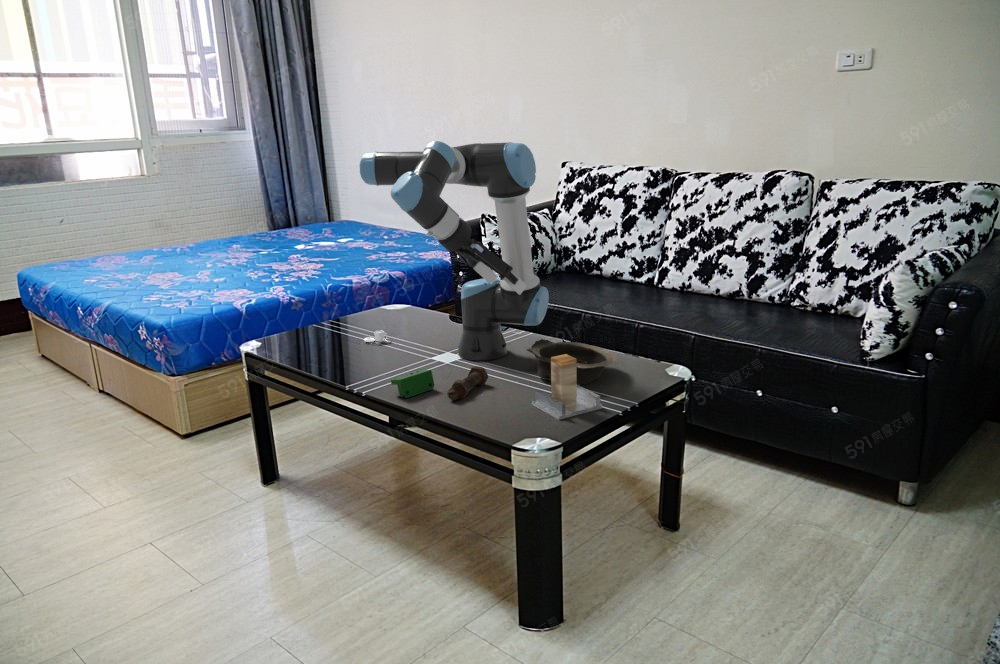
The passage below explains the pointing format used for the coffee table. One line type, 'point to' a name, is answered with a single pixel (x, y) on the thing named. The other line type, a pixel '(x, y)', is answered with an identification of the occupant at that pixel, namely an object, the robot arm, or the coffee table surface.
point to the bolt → (468, 383)
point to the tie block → (564, 379)
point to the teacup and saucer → (376, 336)
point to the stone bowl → (586, 356)
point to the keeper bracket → (558, 410)
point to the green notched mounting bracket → (414, 383)
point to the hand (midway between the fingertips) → (508, 285)
